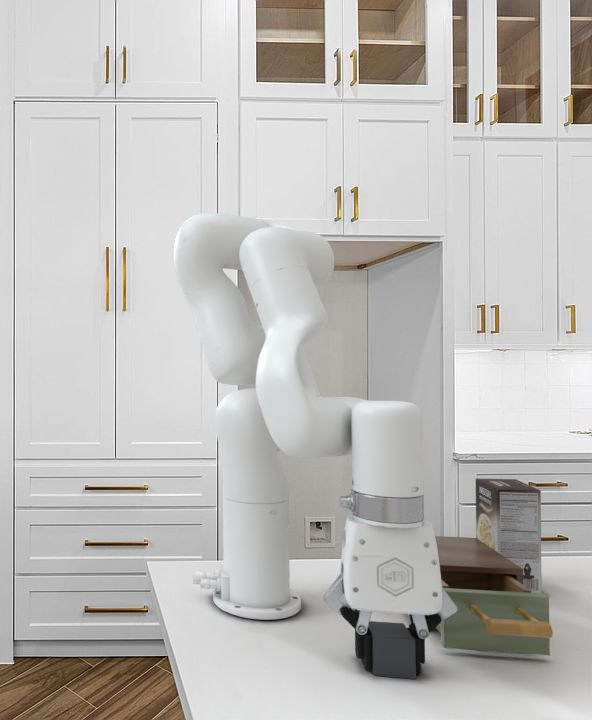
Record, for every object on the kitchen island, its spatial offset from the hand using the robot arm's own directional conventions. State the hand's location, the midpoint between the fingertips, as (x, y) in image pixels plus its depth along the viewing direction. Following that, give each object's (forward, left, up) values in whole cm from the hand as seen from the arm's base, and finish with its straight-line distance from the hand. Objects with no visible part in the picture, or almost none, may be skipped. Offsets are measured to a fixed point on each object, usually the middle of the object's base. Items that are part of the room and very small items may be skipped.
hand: (389, 664), depth 69 cm
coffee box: (+26, +32, -1) cm, 41 cm away
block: (0, 0, 0) cm, 0 cm away
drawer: (+13, +8, +1) cm, 15 cm away
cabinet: (+13, +19, 0) cm, 23 cm away
